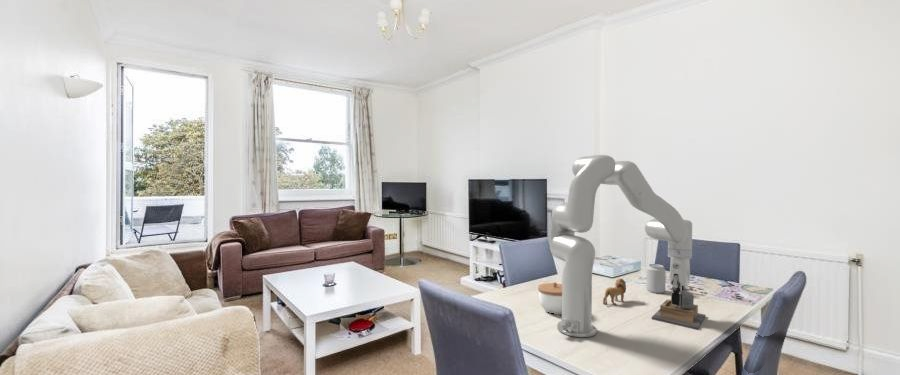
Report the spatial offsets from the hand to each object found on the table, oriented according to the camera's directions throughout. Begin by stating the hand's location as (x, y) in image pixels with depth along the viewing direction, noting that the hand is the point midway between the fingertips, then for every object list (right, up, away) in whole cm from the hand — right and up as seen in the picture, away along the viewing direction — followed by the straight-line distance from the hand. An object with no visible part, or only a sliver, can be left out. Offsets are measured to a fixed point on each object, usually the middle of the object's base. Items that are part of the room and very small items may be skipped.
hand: (678, 302), depth 137 cm
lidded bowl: (-43, -6, +8) cm, 44 cm away
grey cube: (+1, -1, -1) cm, 2 cm away
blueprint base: (0, -6, 0) cm, 6 cm away
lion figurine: (-16, -6, +18) cm, 25 cm away
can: (+10, -5, +32) cm, 34 cm away
